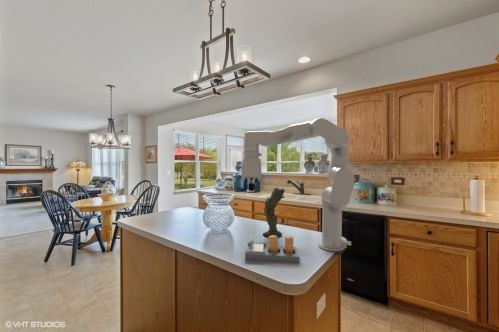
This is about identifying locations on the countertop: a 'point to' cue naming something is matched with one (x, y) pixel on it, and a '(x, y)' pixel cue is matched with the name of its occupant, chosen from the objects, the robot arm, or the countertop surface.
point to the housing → (271, 254)
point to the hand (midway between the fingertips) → (251, 191)
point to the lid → (255, 246)
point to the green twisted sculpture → (272, 212)
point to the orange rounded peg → (289, 244)
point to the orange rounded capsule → (273, 244)
